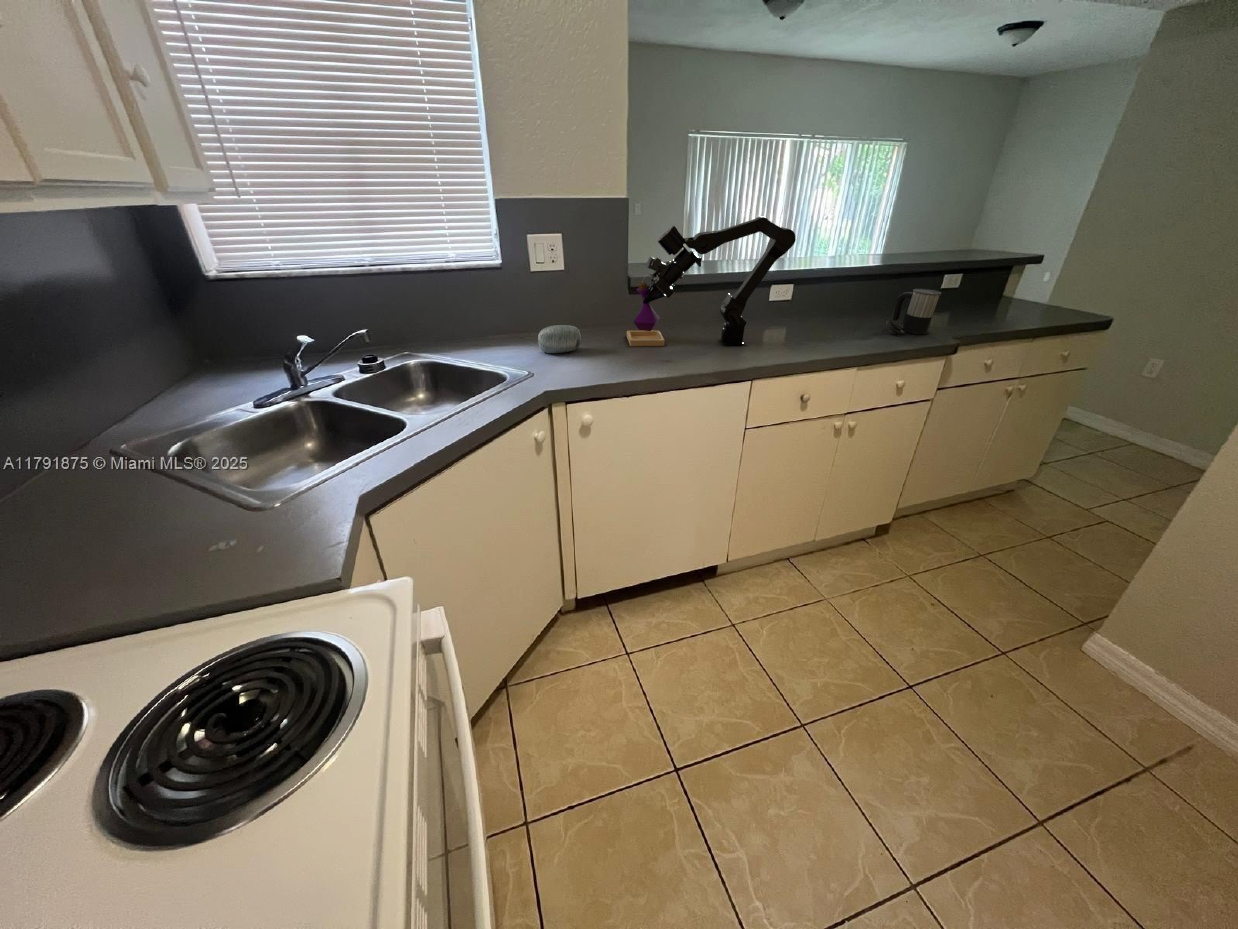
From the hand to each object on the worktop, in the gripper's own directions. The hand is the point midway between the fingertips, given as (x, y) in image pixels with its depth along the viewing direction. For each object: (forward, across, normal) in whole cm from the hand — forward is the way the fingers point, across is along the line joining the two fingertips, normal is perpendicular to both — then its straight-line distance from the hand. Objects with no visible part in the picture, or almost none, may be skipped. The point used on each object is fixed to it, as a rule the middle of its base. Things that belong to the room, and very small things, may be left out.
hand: (643, 301), depth 161 cm
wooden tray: (+9, 0, +10) cm, 13 cm away
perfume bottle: (+6, 0, +8) cm, 9 cm away
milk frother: (-61, -17, +82) cm, 103 cm away
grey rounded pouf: (+28, +13, -10) cm, 33 cm away
